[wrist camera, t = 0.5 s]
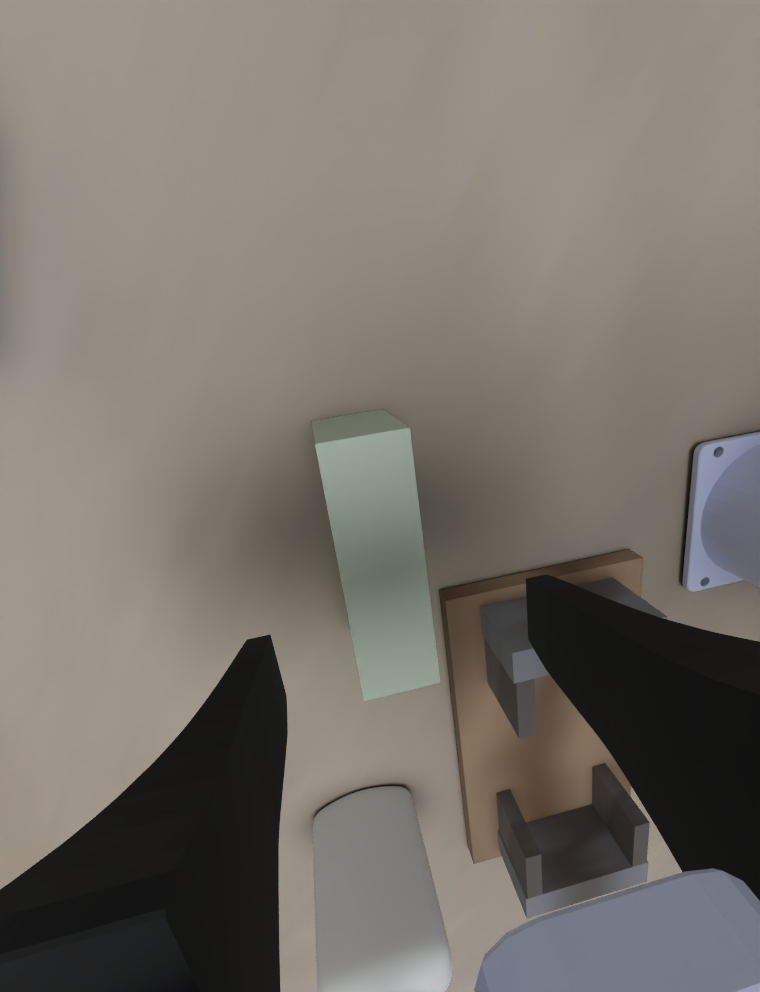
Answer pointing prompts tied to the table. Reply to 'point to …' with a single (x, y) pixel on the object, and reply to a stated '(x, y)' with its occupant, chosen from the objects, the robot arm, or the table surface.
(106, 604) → the table surface
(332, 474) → the rail plank
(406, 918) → the eye dropper bottle
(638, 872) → the slotted holder
